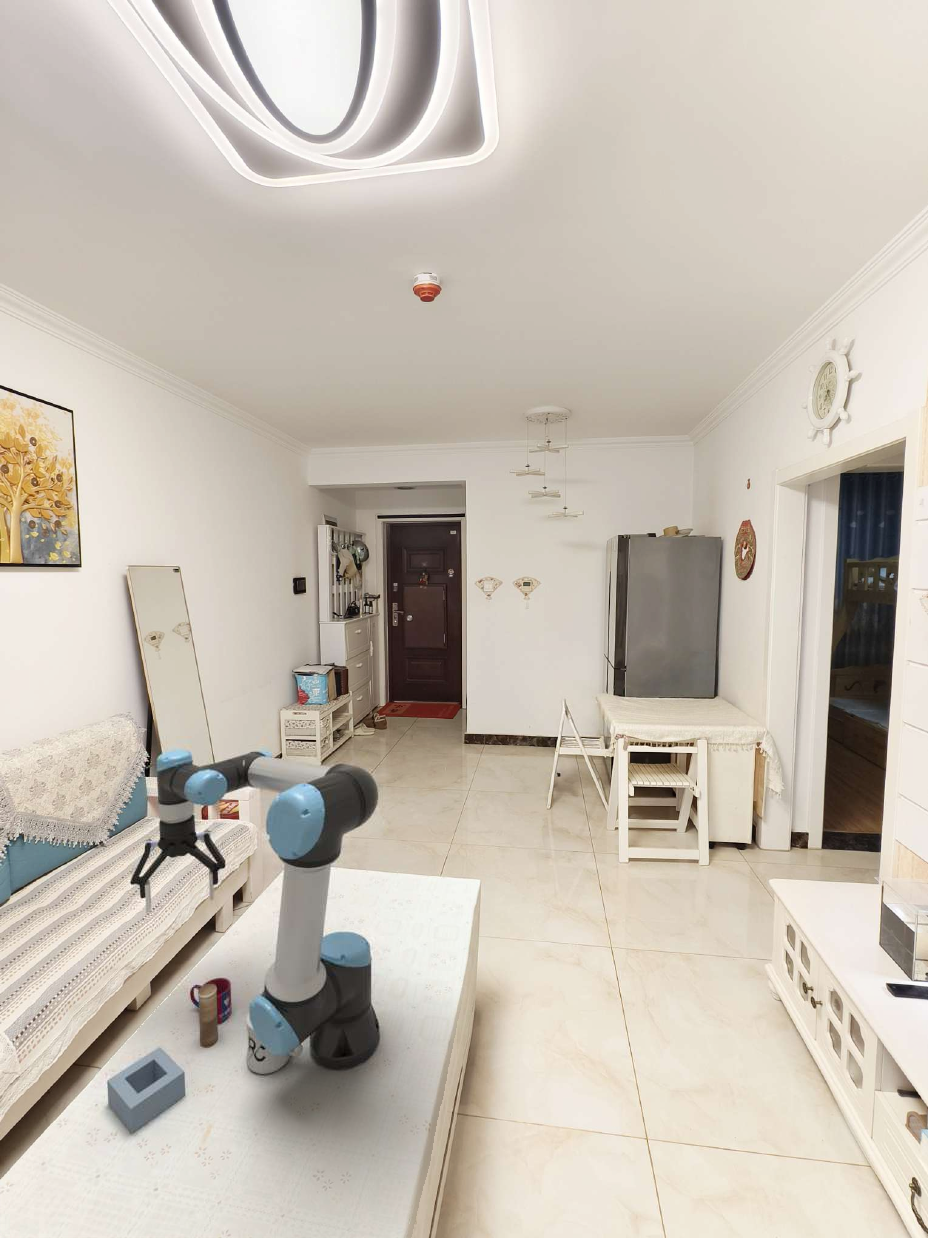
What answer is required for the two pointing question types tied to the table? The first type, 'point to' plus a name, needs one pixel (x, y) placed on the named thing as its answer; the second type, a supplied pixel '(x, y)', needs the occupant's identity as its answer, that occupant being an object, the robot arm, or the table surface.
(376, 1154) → the table surface
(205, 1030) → the dowel
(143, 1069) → the socket block
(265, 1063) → the mug
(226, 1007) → the cup
